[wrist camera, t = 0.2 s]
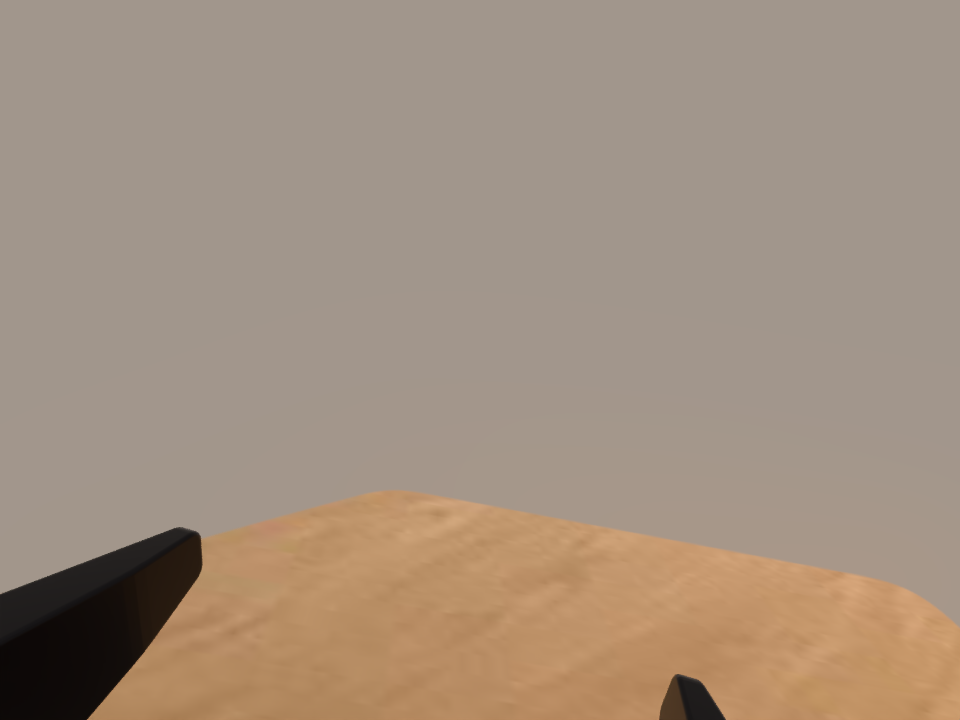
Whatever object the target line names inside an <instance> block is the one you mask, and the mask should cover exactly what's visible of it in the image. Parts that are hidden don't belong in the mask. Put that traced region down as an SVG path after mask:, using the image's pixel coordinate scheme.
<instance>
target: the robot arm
mask: <svg viewBox="0 0 960 720" xmlns="http://www.w3.org/2000/svg"><path fill="white" fill-rule="evenodd" d="M201 570H202V548H201V536H200V535H199V533H198V532H196V531H193V530H190V529H186V528H183V527H178V528H174V529H171V530H169V531H166V532H164V533H161V534H158V535H155V536H153V537H150V538H147V539H145V540H142V541H139V542H137V543H134V544H132V545H129V546H126V547H124V548H121V549H118V550H116V551H113V552H110V553H108V554H105V555H103V556H100V557H98V558H95V559H92V560H89V561H87V562H84V563H81V564H79V565H76V566H74V567H71V568H68V569H66V570H63V571H60V572H58V573H55V574H52V575H50V576H47V577H44V578H42V579H39V580H37V581H34V582H31V583H29V584H26V585H23V586H21V587H18V588H15V589H13V590H10V591H7V592H5V593H2V594H0V720H87V719H88V718H89V717H90V716H91V714H92V713H93V712H94V711H95V710H96V709H97V707H98V706H99V705H100V704H101V703H102V702H103V700H104V699H105V698H106V697H107V696H108V695H109V693H110V692H111V691H112V690H113V689H114V687H115V686H116V685H117V684H118V683H119V682H120V680H121V679H122V678H123V677H124V676H125V675H126V673H127V672H128V671H129V670H130V669H131V668H132V666H133V665H134V664H135V663H136V662H137V660H138V659H139V658H140V657H141V655H142V654H143V653H144V652H145V650H146V649H147V648H148V646H149V645H150V644H151V642H152V641H153V640H154V638H155V637H156V636H157V634H158V633H159V631H160V630H161V629H162V627H163V626H164V624H165V623H166V622H167V620H168V619H169V617H170V616H171V615H172V613H173V612H174V611H175V609H176V608H177V606H178V605H179V604H180V602H181V601H182V599H183V598H184V597H185V595H186V594H187V592H188V591H189V590H190V588H191V587H192V585H193V584H194V583H195V581H196V580H197V578H198V577H199V575H200V572H201ZM659 720H726V719H725V717H724V716H723V714H722V713H721V711H720V710H719V708H718V706H717V705H716V703H715V702H714V700H713V699H712V697H711V695H710V694H709V692H708V691H707V689H706V688H705V686H704V685H703V684H702V683H701V682H700V681H699V680H697V679H694V678H690V677H687V676H684V675H680V674H676V675H675V676H674V677H673V678H672V680H671V683H670V685H669V688H668V691H667V693H666V696H665V698H664V701H663V703H662V706H661V710H660V718H659Z"/></svg>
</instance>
